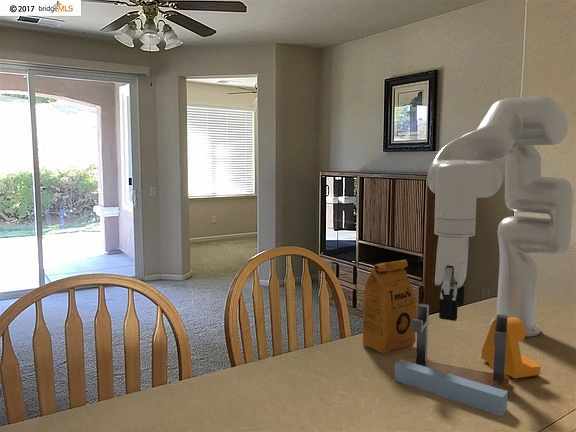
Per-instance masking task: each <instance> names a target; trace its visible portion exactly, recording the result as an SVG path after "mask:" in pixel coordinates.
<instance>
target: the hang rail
mask: <svg viewBox="0 0 576 432" xmlns="http://www.w3.org/2000/svg"><path fill="white" fill-rule="evenodd" d="M394 381H396V382H399V383H401V384H404V385H407V386H410V387H414V388H416V389H419V390H422V391H426V392H429V393H431V394H434V395H436V396H440V397H442V398H447V399H449V400H452V401H454V402H458V403H462V404H464V405H468V406H470V407H472V408H477V409H479V410H483V411H484V412H488V413H490V414H494V415H497V416H500V417H503V415H504V414H505V413H506V411H507V410H508V398H507V396H508V397H509V390H508V391H505V390H502V389H498V388H495V387H492V386H488V385H485V384H481V383H478V382H475V381H471V380H468V379H465V378H461V377H458V376H455V375H451V374H448V373H445V372H441V371H438V370H435V369H431V368H428V367H425V366H421V365H418V364H414V363H412V362H410V361H407V360H404V359H400V360H399V361H398V362H396V363H394Z"/></svg>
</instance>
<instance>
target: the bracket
mask: <svg viewBox="0 0 576 432" xmlns="http://www.w3.org/2000/svg"><path fill="white" fill-rule="evenodd" d="M494 319H495V318H494ZM495 331H496V319H495V320H494V321H493V322H492V324H491V326H490V328H489V329H488V333H487V335H486V339H485V341H484V344H483V346H482V349H481V357H480V358H481V359H482V360H484V361H486V362H487V363H488V367H489V368H492V369H493V370H494V354H495V345H494V332H495ZM525 335H526V330H525V326H524V324H523V322H522V321H521V320H520V319H519V318H516V317H512V318H508V319H507V336H506V353H505V369H504V376H509V377H512V378H513V379H520V378H527V377H532V376H538V375H541V367H542V366H541V364H540V363H538V362H536V361H534V360H532V359H530V358H529V357H526V356H525V355H523V354H522V353H521V349H520V344H519V342H520V343H521V342H523V341H524V340H525V338H526V337H525Z"/></svg>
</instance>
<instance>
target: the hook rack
mask: <svg viewBox="0 0 576 432" xmlns="http://www.w3.org/2000/svg"><path fill="white" fill-rule="evenodd" d="M429 309H430V305H429V304H426V303H419V304H418V305H417V319H416V318H415V319H413V320H412V332H415V333H416V344H415V345H416V348H415V351H416V352H415V358H413V360H412V362H411V363H414V364H418V365H421V366H425V367H428V368H431V369H435V370H438V371H441V372H445V373H448V374H451V375H455V376H458V377H461V378H465V379H468V380H471V381H475V382H478V383H481V384H485V385H488V386H492V387H495V388H498V389H502V390H505V391H508V392H509V388H510V387H509V386H510V376H504V369H505V353H506V336H507V319H508V316H506V315H499V314H497V313H496V317H497V319H496V331H495V332H494V345H495V354H494V369H493V372H488V371H483V370H478V369H471V368H466V367H461V366H455V365H451V364H445V363H441V362H440V363H439V362H434V361H430V360H429V361H428V335H429V315H430V313H429V311H430V310H429ZM508 397H509V395H508V396H507V399H508Z"/></svg>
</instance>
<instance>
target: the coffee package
mask: <svg viewBox="0 0 576 432" xmlns="http://www.w3.org/2000/svg"><path fill="white" fill-rule="evenodd" d="M408 266H409V264H408V261H407V259H401V260H396V261H389V262H382V263H377V264H374V265H373V266H372V269H371V271H370V273H369V276H368V278H367V280H366V283H365V287H364V293H363V308H362V345H363V346H364V347H368V348H372V349H373V350H375V351H377V352H378V353H379V352H381V353H383V354H386V353H389V352H392V351H395V350H396V351H397V350H402V349H405V348H407V347H411V346H414V344H415V343H416V341H417V338H416V332H412V320H413V319H416V316H417V314H416V313H417V303H416V302H417V301H416V297H415V294H414V293H415V292H414V291H413V288H412V285H411V283H410V281H409V276H408V274H407V271H406V270H405V268H407V267H408Z"/></svg>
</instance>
